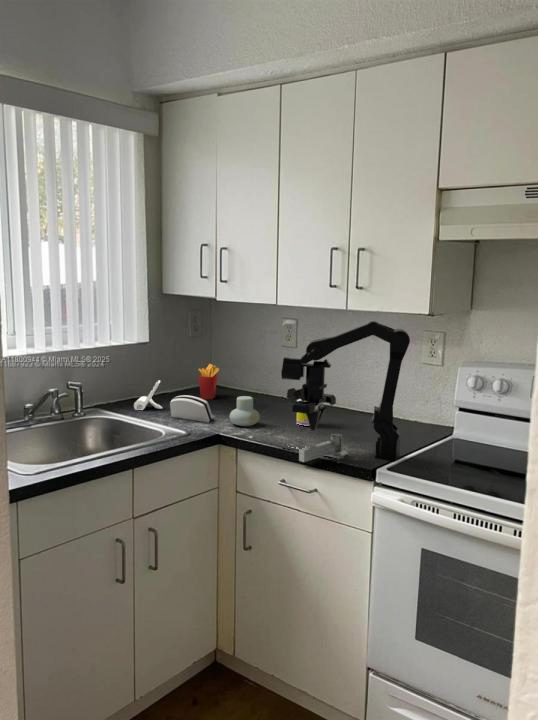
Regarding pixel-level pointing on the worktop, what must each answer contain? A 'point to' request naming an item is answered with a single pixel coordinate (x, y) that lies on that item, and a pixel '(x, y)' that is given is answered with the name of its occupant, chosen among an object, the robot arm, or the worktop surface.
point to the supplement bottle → (302, 418)
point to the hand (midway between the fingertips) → (313, 430)
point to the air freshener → (244, 412)
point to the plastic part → (147, 400)
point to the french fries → (208, 382)
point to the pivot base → (338, 454)
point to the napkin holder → (191, 408)
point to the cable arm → (321, 448)
